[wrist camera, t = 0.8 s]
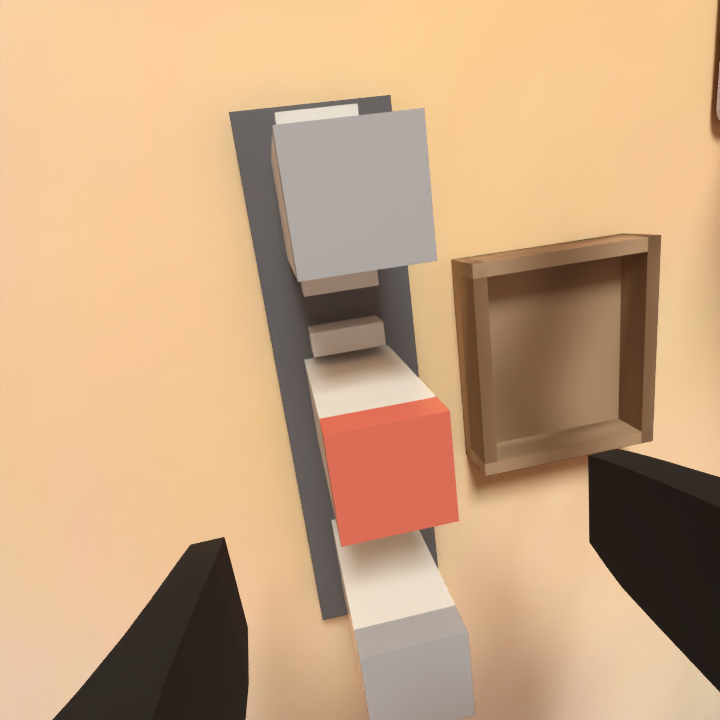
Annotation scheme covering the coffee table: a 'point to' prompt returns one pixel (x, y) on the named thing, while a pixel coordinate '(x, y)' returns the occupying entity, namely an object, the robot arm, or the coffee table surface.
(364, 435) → the red cap fuse
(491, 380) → the tray
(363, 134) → the block
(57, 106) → the coffee table surface
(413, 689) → the fuse slot
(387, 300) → the block
